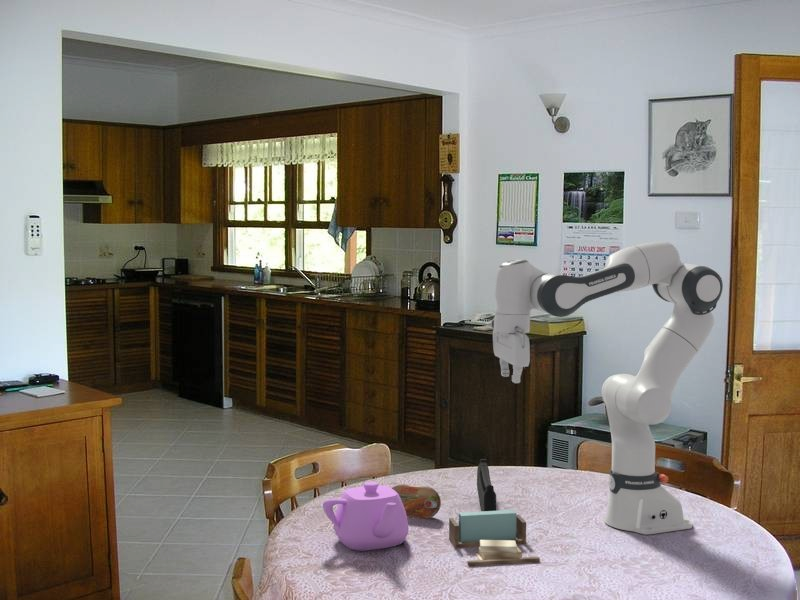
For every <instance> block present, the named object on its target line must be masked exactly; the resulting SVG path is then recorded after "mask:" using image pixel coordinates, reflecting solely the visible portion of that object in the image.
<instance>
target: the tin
mask: <svg viewBox="0 0 800 600" xmlns="http://www.w3.org/2000/svg"><path fill="white" fill-rule="evenodd" d="M391 488H392V489H393V490H395V491H396V492H397V493H398V494H399V496H400V498H401V501H402V503H403V506H404V508H405V511H406V515H407V518H413V517H414V518H415V519H423V520H429V519H432V518H433V517H434V516H435V515H437V514H438V512H439V511H440V509H441V505H442V502H441V501H442V500H441V496H440V495H439V493H438V491H436V490H435V488H433V487H429V486H423V485H412V484H405V483H404V484H403V483H402V484H397V485H395V486H393V487H391Z"/></svg>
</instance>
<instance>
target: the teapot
mask: <svg viewBox="0 0 800 600" xmlns="http://www.w3.org/2000/svg"><path fill="white" fill-rule="evenodd" d="M392 488H393V487H390V486H388V485H385V484H384V485H382V484H379V483H378V482H376V481H366V482H364V483H363V485H362V486H357V487H350V488H346V489H344V490H343V492H342V493H341V496H340V498H328V499H325V500H324V501H323V503H322V508H323V512H324V513H325V515H326V516H327V518H328V519H329V521H331V523H332V524H333V531H334V533H335V535H336V536H337V538H338V540H339V541H340V542H341V544H343V545H344V546H345V547H347V548H348V549H351V550H355V551H360V552H366V551H370V550H371V551H372V550H380V549H381V550H382V549H386V548H394V547H395V546H399V545H401V544H402V543H404V542H405V540H406V538H407V537H408V535H409V521H408V517H407V515H406V511H405V508H404V506H403V503H402V501H401V498H400V496H399V494H398V493H397V492H396V491H395V490H393V489H392ZM335 505H337V506H336V509H335V512H334V508H333V507H334V506H335Z"/></svg>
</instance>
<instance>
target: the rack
mask: <svg viewBox="0 0 800 600" xmlns="http://www.w3.org/2000/svg"><path fill="white" fill-rule="evenodd" d="M448 521H449V522H448V541H450V543H451V545H452V546H453V548H454V549H455V548H456V549H458V548H475V547H476V548H477V547H478V548H479V547H480V541H476V542H459V523H457V521H456V520H455V518H454V517H449V519H448ZM511 540H515V542H516V545H526V544H527V521H526V520H525V519H524V518H523V517H522V516H521V515H520V514H516V539H511ZM540 560H541V558H540V557H539V556H526V557H525V556H524V557H523V556H522V558H507V559H490V560H479V559H476V560H475V559H473V560H467V566H468V567H480V566H497V565H498V566H499V565H513V564H526V563H529V564H530V563H540V562H541V561H540Z"/></svg>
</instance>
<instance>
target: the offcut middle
mask: <svg viewBox="0 0 800 600" xmlns="http://www.w3.org/2000/svg"><path fill="white" fill-rule="evenodd" d="M478 553H479V555H480V556H481V557H482V559H483V560H490V559H507V558H523V551H522V550H521V549H520V547H518V546H517V553H494V552H481V551H480V546H479V547H478Z"/></svg>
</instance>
